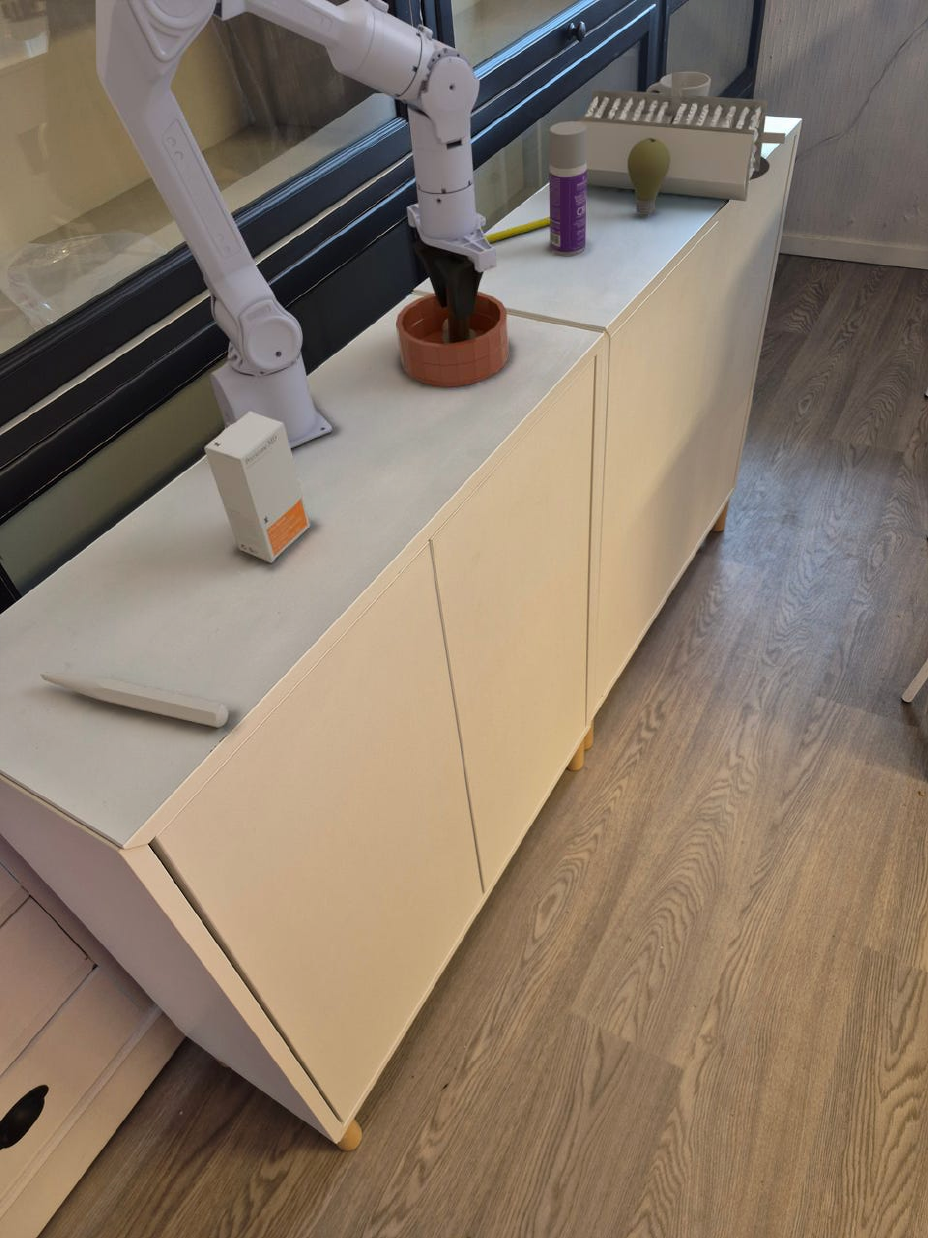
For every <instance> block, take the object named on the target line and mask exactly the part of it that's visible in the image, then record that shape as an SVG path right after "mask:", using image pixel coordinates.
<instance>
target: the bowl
mask: <svg viewBox="0 0 928 1238" xmlns="http://www.w3.org/2000/svg"><path fill="white" fill-rule="evenodd" d="M447 318H448V316H447V307H444V308H442V307H441V306H440V305H439V303H438V300H437V298H436V295H435V292H434V293H430V294H426V295H424V296H421V297H419V298H417V299H414V301H412V302H410V303H408V304H407V305H405V306H404V307H403V308H402V310H400V312H399V313H398V314H397V317H396V321H395V328H396V335H397V339H398V341H397V342H398V348H399V356H400V360H401V364H402V365H401V366H402V367H403V370H404V371H405V373H406V374H407V375H408V376H409V377H411V379H414V380H415V381H417V382H420V383H422V384H425V385H429V386H435V387H447V388H448V387H462V386H467V385H472V384H475V383H479V382H481V381H485V380H486V379H488V378H491V377H492V376H493V375H495V374H496V373H498V372H500V370H501V369H502V368H503V367H504V366H505V365H506V363H507V361H508V357H509V347H510V346H509V331H508V329H509V328H508V311H507V308H506V307H505V305H504V304H503V302H502V301H500V300H499V299H497V298H496V297H494V296H492V295H490V294H487V293H484V292H481V291H478V292H477V298H476V303H475V309H474V313H473V314H472V315H470V316H469V327H470V329H472V330H473V331H474V332H475V333H476V335H477V338H474V339H472V340H468V341H463V342H458V343H447V344H442V335H443V330H442V327H443V323H444V321H445V320H446V319H447Z"/></svg>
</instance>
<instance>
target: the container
mask: <svg viewBox="0 0 928 1238" xmlns="http://www.w3.org/2000/svg"><path fill="white" fill-rule="evenodd" d="M548 162H549V166H548V167H549V169H548V174H549V179H548V180H549V217H550V225H549V243H550V245H549V247H550V252H551V253H553V254H554V255H557V256H561V257H570V256H571V257H572V256H577V255H579V254H581V253H583V252H584V251H585V250H586V236H587V235H586V231H587V229H586V228H587V227H586V225H587V184H586V181H587V151H586V125H585V124H583V123H581V122H576V121H575V120H574V121H573V120H567V121H561V122H557V123H555V124H553V125H551V126H550V128H549V161H548Z"/></svg>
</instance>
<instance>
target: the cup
mask: <svg viewBox="0 0 928 1238" xmlns="http://www.w3.org/2000/svg"><path fill="white" fill-rule="evenodd" d="M676 73H683V87H682V95H693V96H708V97H709V92H710V87H711V82H712V79H711V76H709V75H708V74H706V73H703V72H699V71H678V72H676ZM671 82H672V73H668V74H666V75H664V76H662V77H661V78H660V80H659V81H657V82H655V83H654V84H651V85H650V86H648V88H647V89H646V91H645V92H649V93H652V91H658V93H664V94H671Z"/></svg>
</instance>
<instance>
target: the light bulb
mask: <svg viewBox="0 0 928 1238" xmlns="http://www.w3.org/2000/svg"><path fill="white" fill-rule="evenodd" d="M669 166H670V154H669V151H668V149H667V147H666V146H665V144H664V143H663V142H661V141H660V140H658V139H655V138H647V139H644V140H641V141H640V142H638V143H637V144H636V145H635V146H634V147H633V148H632V150H631V152H630V154H629V157H628V172H629V175H630V177H631V180H632V182H633V185H634V188H635V189H634V194H635V197H636V208H635V209H636V213H637V214H639V215H640V216H641V218H647V217H649V216H650V215H651V214H653V213H654V212H655V205H656V204H655V202H656V198H657V196H658V194H659V193H660V192H659V188H660V185H661V183H662V181H663V180H664V178H665V176H666V174H667V172H668V169H669Z"/></svg>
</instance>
